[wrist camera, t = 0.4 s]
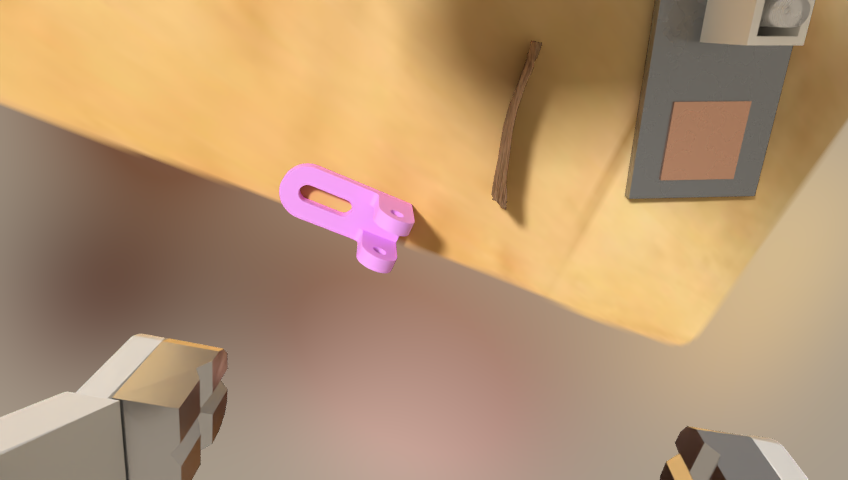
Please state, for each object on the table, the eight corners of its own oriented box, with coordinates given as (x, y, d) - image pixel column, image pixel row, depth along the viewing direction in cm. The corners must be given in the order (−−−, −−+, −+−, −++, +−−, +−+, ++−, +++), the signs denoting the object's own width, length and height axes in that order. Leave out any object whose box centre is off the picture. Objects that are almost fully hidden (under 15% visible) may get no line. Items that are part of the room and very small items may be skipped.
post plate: (664, -59, 48) (729, -77, 39) (810, -57, 49) (905, -74, 40) (624, 195, 57) (669, 227, 48) (748, 193, 58) (814, 223, 49)
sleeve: (710, -16, 48) (761, -22, 42) (762, -16, 49) (821, -22, 42) (699, 42, 50) (746, 45, 44) (749, 42, 51) (803, 45, 44)
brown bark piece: (504, 195, 56) (515, 211, 51) (485, 193, 56) (494, 208, 51) (540, 42, 50) (555, 44, 46) (519, 38, 50) (532, 40, 45)
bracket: (411, 203, 55) (416, 227, 49) (390, 248, 57) (391, 277, 51) (292, 154, 52) (280, 172, 46) (274, 203, 54) (260, 227, 48)
